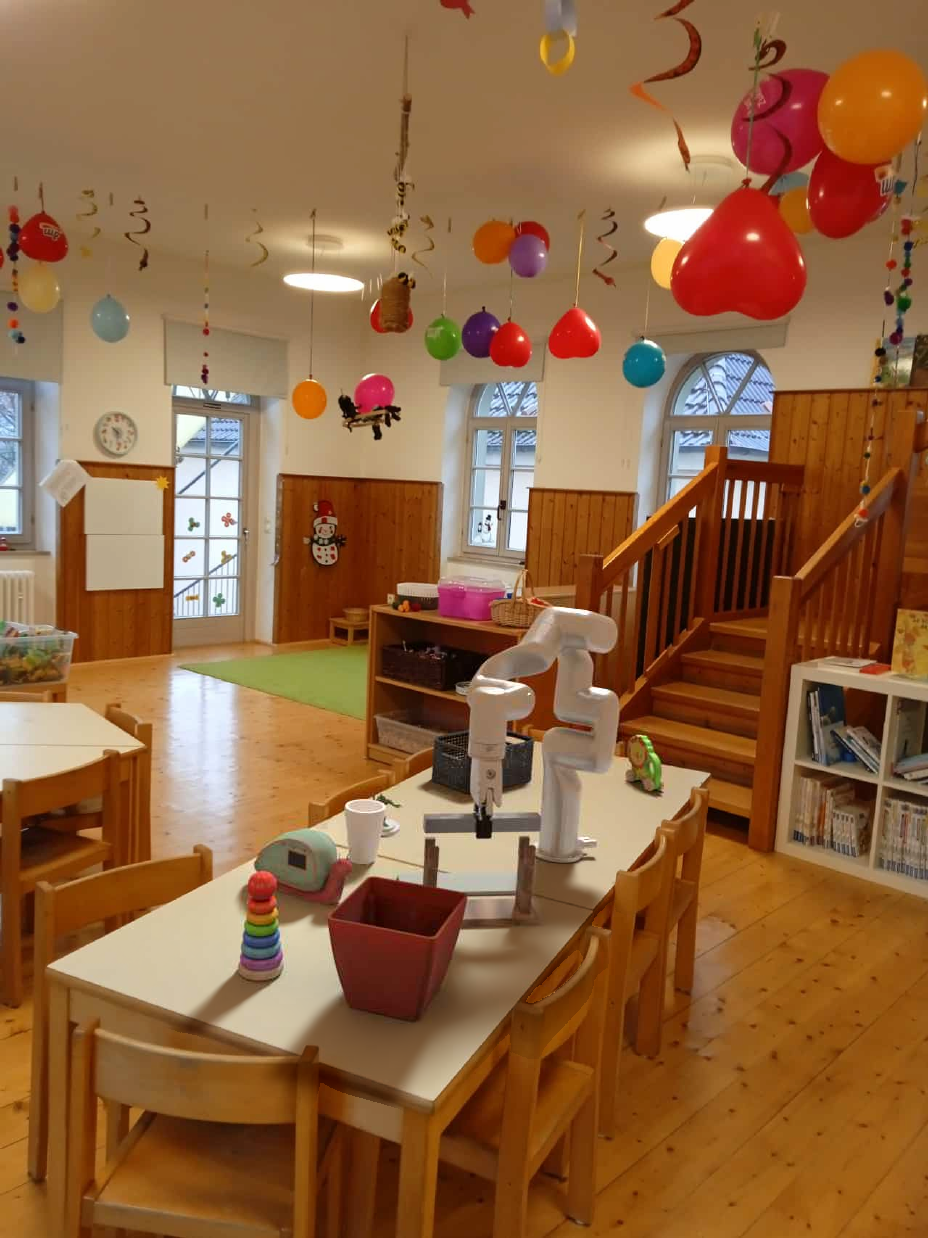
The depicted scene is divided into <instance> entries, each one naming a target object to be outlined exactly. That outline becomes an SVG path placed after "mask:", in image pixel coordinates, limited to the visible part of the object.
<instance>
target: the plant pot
mask: <svg viewBox="0 0 928 1238" xmlns="http://www.w3.org/2000/svg"><path fill="white" fill-rule="evenodd" d="M468 896H469V895H467V894H466V893H464V892H459V891H454V890H448V889H443V888H438V887H432V886H427V885H421V884H416V883H410V882H404V881H399V880H398V879H393V878H385V877H381V876H376V875H375V876H374V875H373V876H368V877H366V878H365V879H364V880H363V881H362V883H360V884H359V885H358V886H357V887H356V888H355V889H354V890H353V891H352V892H351V893H350V894H348V895H347V896H346V898H344V900H342V901H341V903H339V904H338V905H337V906H336V907H335V908H334V909H333V910H332V911H331V912H330V913H328V914H327V924H328V925H327V927H328V934H329V941H330V942H329V943H330V946H331V951H332V958H333V961H334V965H335V971H336V973H337V976H338V979H339V983H340V986H341V989H342V992H343V995H344V997H345V1000H346V1003H347V1004H348V1006H349V1007H351V1008H354V1009H358V1010H363V1011H367V1012H372V1013H377V1014H380V1015H385V1016H390V1017H393V1018H397V1019H398V1018H399V1019H403V1020H407V1021H410V1022H411V1021H412V1022H416V1021H419V1020H420V1019H421V1017H422V1016H423V1014H424V1013H425V1011H426V1010H427V1008H428V1007H429V1005H430V1003H431V1002H432V1001H433V999H434V998H435V996H436V995H437V993H438V991H439V990H440V989H441V986H442V985H443V984H442V983H443V982H444V980H445V977H446V974H447V971H448V969H449V966H450V963H451V960H452V958H453V954H454V952H455V948H456V946H457V941H458V938H459V936H460V931H461V927H462V926H461V925H462V921H463V917H464V913H465V908H466V903H467V900H468Z"/></svg>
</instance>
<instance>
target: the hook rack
mask: <svg viewBox="0 0 928 1238" xmlns="http://www.w3.org/2000/svg"><path fill="white" fill-rule="evenodd" d="M530 840H531V838H530V837H529V835H522V836H521V835H519V836H518V847H517V848H518V849H517V856H518V858H517V871H516V872H517V883H516V894H515V898H492V899H491V898H487V899H486V898H485V899H484V898H483V899H482V898H480V899H467V903H466V908H465V913H464V917H463V921H462V925H461V927H485V926H486V927H489V926H491V927H492V926H493V927H496V926H495V925H498V926H527V925H526V924H535V925H540V920H541V919H540V915H539V914H538V911H537V910H536V909H535V907H534V905H533V903H532V897H533V882H534V881H533V880H534V870H535V869H534V868H535V866H536V865H535V864H536V856H535V854H536V847H535V845H533V844H531V845H530V842H531V841H530ZM423 857H424V858H423V859H424V860H423V885H427V886H432V887H437V873H439V872H438V869H439V863H440V862H439V859H440V847H439V845H438V846H437V845H436V837H435V836H425V837H424V850H423ZM520 924H521V925H520ZM522 924H524V925H522Z"/></svg>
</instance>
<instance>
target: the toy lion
mask: <svg viewBox="0 0 928 1238" xmlns="http://www.w3.org/2000/svg"><path fill="white" fill-rule="evenodd" d="M626 754H627V756H628V757H627V758H628V762H629V763H630V764H631V769H627V770H626V772H625V779H626V781H627V780H628V781H627V782H629V783H630V782H634V781H638V780H640V781H639V782H642V781H641V780H643V782H644V783H643V785H644V790H648V791H647V792H653V790H656V789H658V790H657V791H662V790H663V789H664V787H665V782H664V780H663V779H662V773H663V771H662V770H663V769H662V764H661V759H660V758H659V756H658V755H657V754H656V753H655V751H654V747H653V744H652V742H651V740H649V738H648V736H647V735H642V734H636V735H634V736H631V737H630V739H629V741H627V749H626ZM651 763H652V764H651ZM651 765H652V766H653V770H652V768H651Z"/></svg>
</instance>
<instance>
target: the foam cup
mask: <svg viewBox="0 0 928 1238" xmlns="http://www.w3.org/2000/svg"><path fill="white" fill-rule="evenodd" d="M375 800H376V799H375ZM375 800H373V799H365V798H363V799H354V800H351V801H348V802H346V804H345V806H344V817H345V824H346V825H345V826H346V828H345V829H346V838H347V839H346V840H347V850H348V853H349V851H350V848H352V849H351V851H350V853H349V856H348V860H349V861H350V862H351V863H353V864H355V865H360V864H366V865H371V864H370V863H372V862H374V861H375V862H376V861H377V857H378V854H379V852H378V851H379V848H380V842H381V838H382V837H381V832H382V827H383V822H384V818H385V815H387V814H386V812H387V811H386V810H387V805H384V803H381V802H379V801H375ZM375 862H374V863H375ZM372 864H373V863H372Z"/></svg>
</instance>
